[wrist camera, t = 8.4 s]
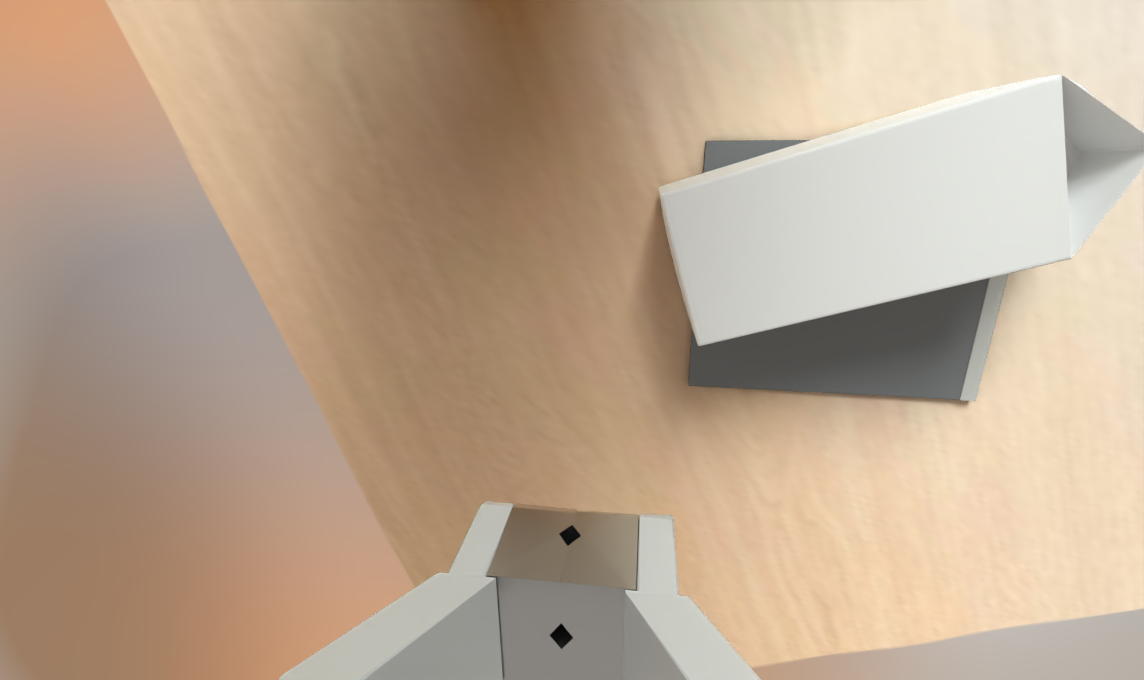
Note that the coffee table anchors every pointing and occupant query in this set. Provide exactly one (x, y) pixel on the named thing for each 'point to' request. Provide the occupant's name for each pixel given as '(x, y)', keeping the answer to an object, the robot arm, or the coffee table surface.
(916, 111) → the milk carton
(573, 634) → the robot arm
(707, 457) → the coffee table surface
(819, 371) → the mat
